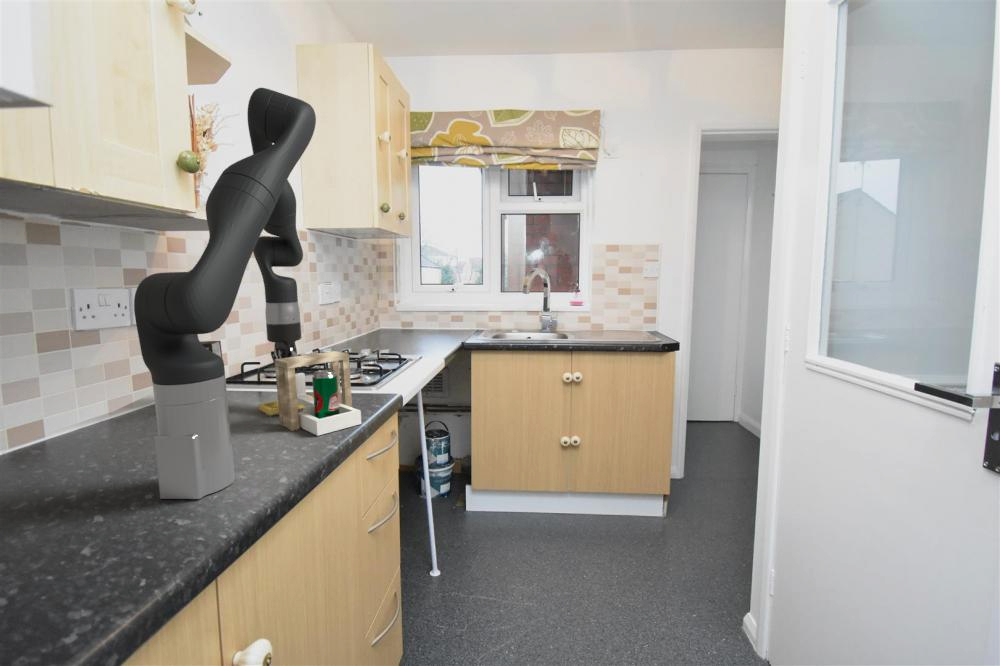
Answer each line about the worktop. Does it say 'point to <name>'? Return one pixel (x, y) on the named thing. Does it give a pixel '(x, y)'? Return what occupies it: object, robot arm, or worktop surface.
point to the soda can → (325, 393)
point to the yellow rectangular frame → (275, 407)
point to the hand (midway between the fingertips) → (288, 390)
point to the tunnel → (288, 382)
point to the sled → (327, 424)
